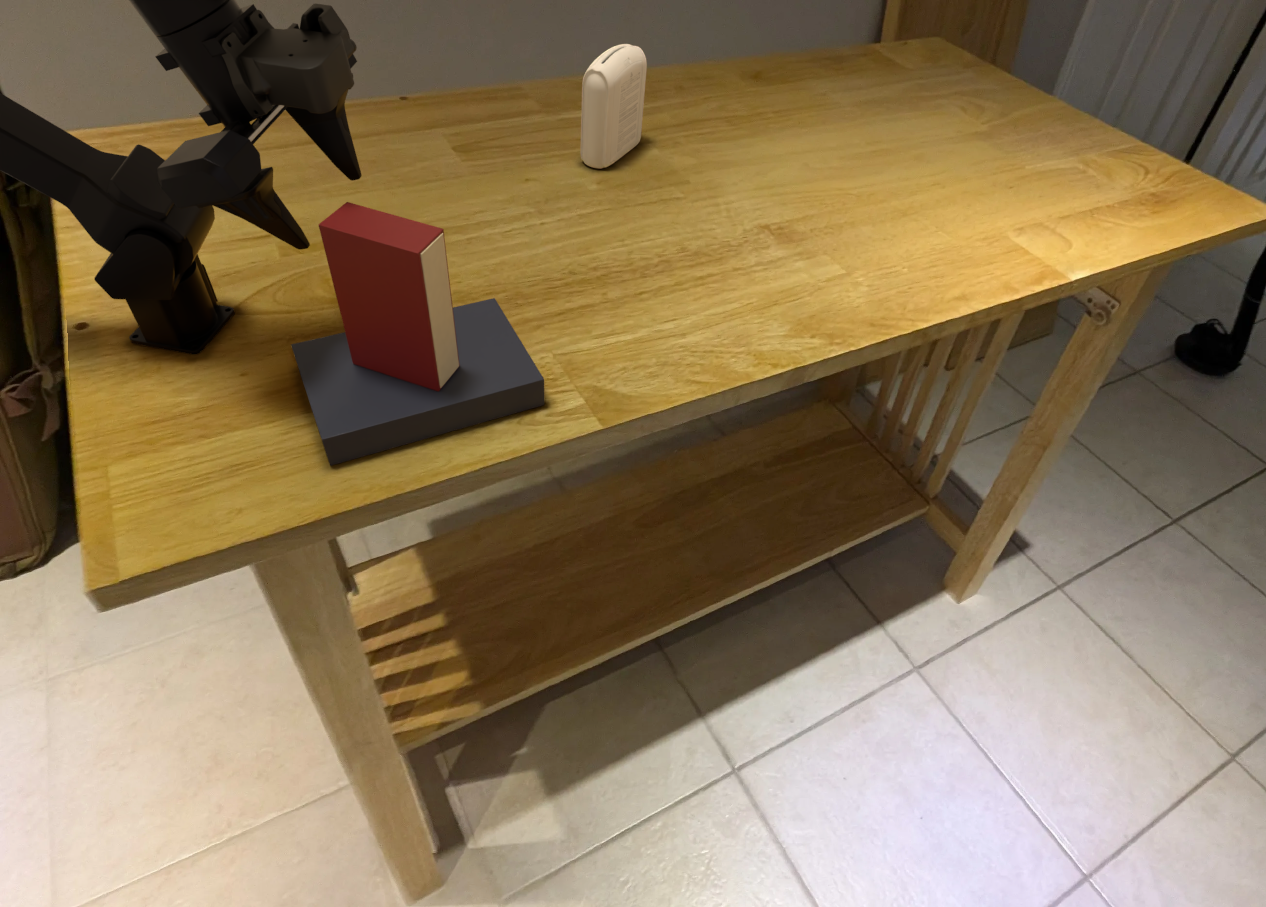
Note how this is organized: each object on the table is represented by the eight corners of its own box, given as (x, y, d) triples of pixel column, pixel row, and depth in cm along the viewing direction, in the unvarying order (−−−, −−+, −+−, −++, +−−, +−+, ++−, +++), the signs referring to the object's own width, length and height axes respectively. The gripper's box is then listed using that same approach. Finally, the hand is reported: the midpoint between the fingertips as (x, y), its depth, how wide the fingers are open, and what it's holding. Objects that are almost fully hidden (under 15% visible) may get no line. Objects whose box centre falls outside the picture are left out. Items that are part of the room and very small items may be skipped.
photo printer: (616, 132, 103) (622, 31, 94) (645, 141, 102) (653, 40, 93) (575, 163, 97) (576, 58, 88) (605, 173, 96) (610, 68, 86)
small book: (352, 364, 65) (317, 224, 56) (376, 339, 67) (346, 201, 58) (439, 392, 64) (419, 253, 54) (461, 366, 66) (445, 229, 56)
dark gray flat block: (330, 466, 61) (321, 439, 59) (299, 371, 68) (290, 344, 66) (545, 404, 68) (545, 378, 66) (497, 323, 75) (495, 297, 73)
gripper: (202, 58, 44) (359, 276, 55) (349, -74, 55) (456, 131, 66) (74, 96, 48) (244, 292, 60) (234, -33, 59) (352, 153, 70)
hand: (331, 212), depth 64 cm, fingers open, 9 cm apart
